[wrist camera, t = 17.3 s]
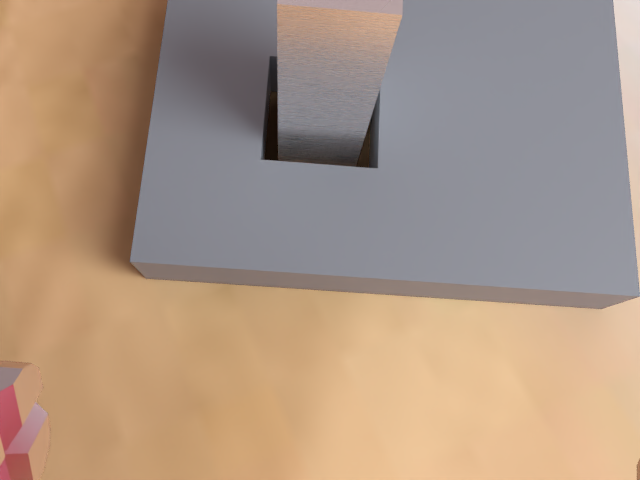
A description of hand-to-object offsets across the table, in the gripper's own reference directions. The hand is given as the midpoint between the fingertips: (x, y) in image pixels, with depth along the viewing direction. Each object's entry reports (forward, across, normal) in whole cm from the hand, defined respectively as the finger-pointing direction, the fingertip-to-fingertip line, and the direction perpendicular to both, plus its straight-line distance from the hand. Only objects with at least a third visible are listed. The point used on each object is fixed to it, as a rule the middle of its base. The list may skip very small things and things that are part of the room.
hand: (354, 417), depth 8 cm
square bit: (+21, 0, -4) cm, 22 cm away
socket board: (+21, +3, -4) cm, 22 cm away
